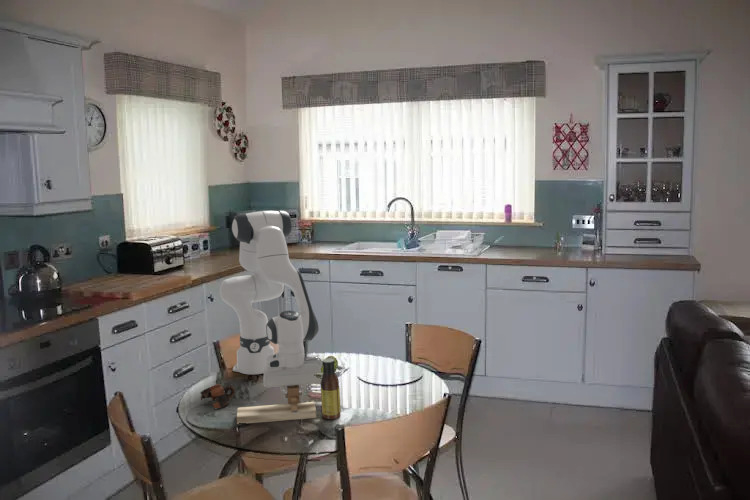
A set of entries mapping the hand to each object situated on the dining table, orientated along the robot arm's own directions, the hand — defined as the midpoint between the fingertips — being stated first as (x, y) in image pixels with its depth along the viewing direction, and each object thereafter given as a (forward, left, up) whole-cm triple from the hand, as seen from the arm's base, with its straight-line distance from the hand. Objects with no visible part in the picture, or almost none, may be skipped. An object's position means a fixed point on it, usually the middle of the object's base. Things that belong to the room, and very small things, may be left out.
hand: (293, 396), depth 236 cm
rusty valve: (-8, -26, -4) cm, 28 cm away
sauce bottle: (+11, +12, -4) cm, 17 cm away
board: (+7, -6, -4) cm, 10 cm away
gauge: (+5, 0, -3) cm, 6 cm away
